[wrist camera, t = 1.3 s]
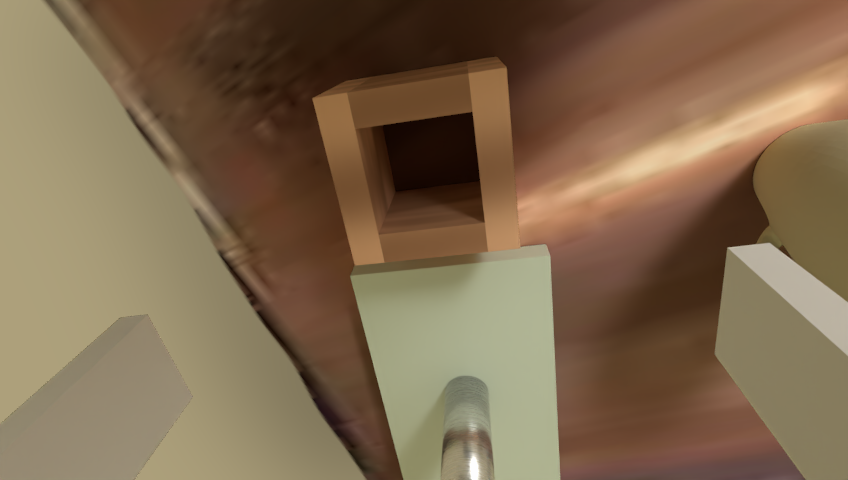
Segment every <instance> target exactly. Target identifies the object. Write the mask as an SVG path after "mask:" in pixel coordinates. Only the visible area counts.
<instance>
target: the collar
mask: <svg viewBox="0 0 848 480" xmlns="http://www.w3.org/2000/svg"><path fill="white" fill-rule="evenodd" d="M312 99H313V103H314V107H315V111H316V115H317V119H318V123H319V127H320V131H321V135H322V139H323V142H324V146H325V150H326V154H327V158H328V162H329V166H330V170H331V174H332V178H333V182H334V186H335V190H336V194H337V197H338V201H339V205H340V209H341V213H342V217H343V221H344V225H345V229H346V233H347V237H348V241H349V245H350V249H351V253H352V256H353V260H354V264H355V266H357V265H366V264H376V263H386V262H395V261H405V260H414V259H424V258H434V257H443V256H453V255H462V254H472V253H482V252H491V251H501V250H511V249H520V237H519V224H518V210H517V197H516V184H515V171H514V158H513V144H512V131H511V118H510V105H509V92H508V78H507V67H506V66H505V65H504V64H503V63H502V62H501V61H500V60H499V59H498V58H497V56H496V57H490V58H484V59H478V60H472V61H466V62H459V63H453V64H447V65H441V66H435V67H429V68H423V69H416V70H410V71H404V72H398V73H392V74H386V75H380V76H373V77H367V78H361V79H355V80H349V81H345V82H343V83H341V84H339V85H337V86H335V87H333V88H331V89H329V90H327V91H325V92H323V93H322V94H320V95H318V96H316V97H314V98H312ZM468 112H473V120H474V129H475V138H476V147H477V156H478V165H479V174H480V181H476V182H468V183H460V184H452V185H444V186H436V187H429V188H421V189H413V190H405V191H397V192H396V191H395V186H394V181H393V176H392V171H391V166H390V161H389V156H388V151H387V145H386V140H385V135H384V130H383V125H386V124H393V123H400V122H407V121H414V120H420V119H427V118H434V117H441V116H448V115H454V114H461V113H468Z"/></svg>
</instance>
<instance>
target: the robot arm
mask: <svg viewBox="0 0 848 480" xmlns="http://www.w3.org/2000/svg"><path fill="white" fill-rule="evenodd" d="M715 356H716V357H717V358H718V360H719V361H720V363H721V364H722V365H723V367H724V368H725V369H726V371H727V372H728V374H729V375H730V376H731V378H732V379H733V380H734V382H735V383H736V385H737V386H738V387H739V389H740V390H741V391H742V393H743V394H744V396H745V397H746V398H747V400H748V401H749V402H750V404H751V405H752V407H753V408H754V409H755V411H756V412H757V413H758V415H759V416H760V418H761V419H762V420H763V422H764V423H765V424H766V426H767V427H768V429H769V430H770V431H771V433H772V434H773V435H774V437H775V438H776V440H777V441H778V442H779V444H780V445H781V446H782V448H783V449H784V451H785V452H786V453H787V455H788V456H789V457H790V459H791V460H792V462H793V463H794V464H795V466H796V467H797V468H798V470H799V471H800V473H801V474H802V475H803V477H804V478H805V479H806V480H848V302H847V301H845V300H844V299H843V298H841V297H840V296H839V295H837V294H836V293H835V292H834V291H832V290H831V289H830V288H828V287H827V286H826V285H824V284H823V283H822V282H820V281H819V280H818V279H816V278H815V277H814V276H812V275H811V274H810V273H809V272H807V271H806V270H805V269H803V268H802V267H801V266H799V265H798V264H797V263H795V262H794V261H793V260H791V259H790V258H789V257H787V256H786V255H785V254H784V253H782V252H781V251H780V250H778V249H777V248H776V247H774V246H773V245H772V244H770V243H763V244H754V245H746V246H737V247H728V248H727V255H726V264H725V272H724V280H723V288H722V297H721V305H720V313H719V321H718V330H717V338H716V346H715ZM192 397H193V396H192V395H191V393H190V391H189V389H188V387H187V386H186V384H185V382H184V380H183V378H182V376H181V374H180V373H179V371H178V369H177V367H176V366H175V364H174V362H173V360H172V358H171V356H170V355H169V353H168V351H167V349H166V347H165V345H164V343H163V342H162V340H161V338H160V336H159V334H158V333H157V331H156V329H155V327H154V325H153V323H152V322H151V320H150V318H149V316H148V315H138V316H130V317H121V318H119V319H118V320H117V321H116V322H115V323H113V324H112V325H111V326H110V327H109V328H108V329H107V330H106V331H104V332H103V333H102V334H101V335H100V336H99V337H98V338H97V339H95V340H94V341H93V342H92V343H91V344H90V345H89V346H87V348H85V349H84V350H83V351H82V352H81V353H80V354H78V355H77V356H76V357H75V358H74V359H73V360H72V361H71V362H69V363H68V364H67V365H66V366H65V367H64V368H63V369H62V370H60V371H59V372H58V373H57V374H56V375H55V376H54V377H53V378H51V379H50V380H49V381H48V382H47V383H46V384H45V385H43V386H42V387H41V388H40V389H39V390H38V391H37V392H36V393H34V394H33V395H32V396H31V397H30V398H29V399H28V400H27V401H26V402H24V403H23V404H22V405H21V406H20V407H19V408H17V410H15V411H14V412H13V413H12V414H11V415H10V416H8V417H7V418H6V419H5V420H4V421H3V422H2V423H1V424H0V480H134V479H135V478H136V477H137V475H138V474H139V472H140V471H141V470H142V468H143V467H144V465H145V464H146V462H147V461H148V460H149V458H150V457H151V455H152V454H153V453H154V451H155V450H156V448H157V447H158V446H159V444H160V442H161V441H162V440H163V438H164V437H165V436H166V434H167V433H168V431H169V430H170V428H171V427H172V426H173V424H174V423H175V421H176V420H177V419H178V417H179V416H180V414H181V413H182V412H183V410H184V409H185V407H186V406H187V404H188V403H189V402H190V400H191V399H192Z"/></svg>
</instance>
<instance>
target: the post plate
mask: <svg viewBox="0 0 848 480" xmlns="http://www.w3.org/2000/svg"><path fill="white" fill-rule="evenodd" d="M350 278H351V282H352V285H353V289H354V293H355V297H356V301H357V304H358V308H359V312H360V316H361V320H362V323H363V327H364V331H365V335H366V339H367V342H368V346H369V350H370V354H371V358H372V362H373V365H374V369H375V373H376V377H377V381H378V384H379V388H380V392H381V396H382V400H383V403H384V407H385V411H386V415H387V419H388V423H389V426H390V430H391V434H392V438H393V442H394V445H395V449H396V453H397V457H398V461H399V464H400V468H401V472H402V476H403V480H441V461H442V440H443V420H444V400H445V388H446V385H447V384H448V383H449V382H450V381H451V380H452V379H454V378H456V377H459V376H473V377H476V378H479V379H480V380H482V381H483V382H484V383H485V384H486V385H487V387H488V391H489V404H490V419H491V433H492V448H493V462H494V477H495V480H560V464H559V442H558V419H557V397H556V375H555V352H554V330H553V308H552V286H551V263H550V254H549V251H548V248H547V246H546V244H542V245H533V246H523V247H520V249H511V250H501V251H491V252H482V253H472V254H462V255H453V256H443V257H434V258H424V259H414V260H405V261H395V262H386V263H376V264H366V265H357V266H354V268H353V270H352V273H351V275H350Z"/></svg>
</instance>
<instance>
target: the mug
mask: <svg viewBox="0 0 848 480" xmlns="http://www.w3.org/2000/svg"><path fill="white" fill-rule="evenodd" d="M753 187H754V191H755V193H756V195H757V197H758V199H759V201H760V203H761V205H762V207H763V209H764V211H765V213H766V215H767V218H768V220H769V226H768V227H767V228H766V229H765V230H764V231H763V233H762V234H761V236H760V237H759V239H758V241H757V243H756V244H763V243H770V244H772V245H773V246H774V247H776V248H777V249H779V248H780V247H781V246H782V245H783V246H784V247H785V249H786V250H787V252H788V253H789V255H790V256H791V257H792V259H793V260H794V261H795V263H797V264H798V265H799V266H801V267H802V268H803V269H805V270H806V271H807V272H809V273H810V274H811V275H812V276H814V277H815V278H816V279H818V280H819V281H820V282H822V283H823V284H824V285H826V286H827V287H828V288H830V289H831V290H832V291H834V292H835V293H836V294H837V295H839V296H840V297H841V298H843V299H844V300H845V301H847V302H848V119H846V120H839V121H831V122H823V123H815V124H809V125H804V126H801V127H798V128H795V129H792V130H790V131H788V132H786V133H785V134H783V135H781V136H780V137H779V138H777V139H776V140H775V141H774V142H772V143H771V144H770V145H769V146H768V147H767V149H766V150H765V151H764V152H763V154H762V155H761V156H760V158H759V160H758V162H757V164H756V167H755V170H754V174H753Z"/></svg>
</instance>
